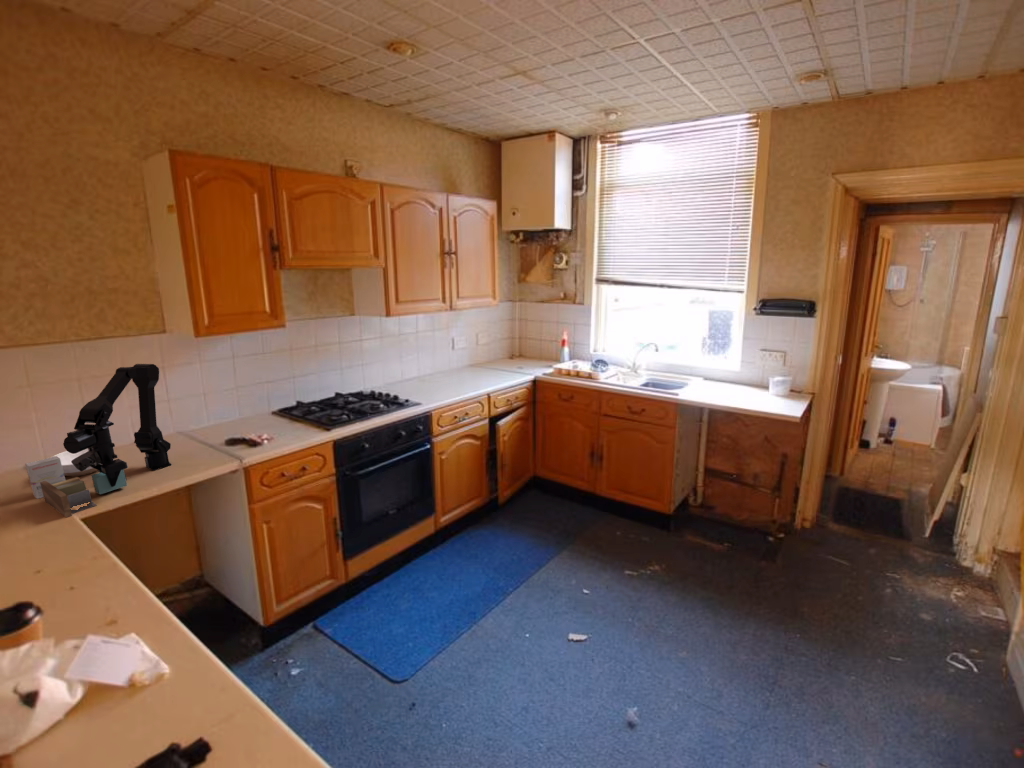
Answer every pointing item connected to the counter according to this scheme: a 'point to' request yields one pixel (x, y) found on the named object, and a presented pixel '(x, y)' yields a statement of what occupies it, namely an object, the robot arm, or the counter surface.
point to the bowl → (69, 467)
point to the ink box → (44, 473)
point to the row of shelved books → (70, 486)
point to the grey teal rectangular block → (107, 482)
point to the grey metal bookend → (80, 500)
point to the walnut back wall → (56, 498)
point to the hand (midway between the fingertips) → (110, 484)
